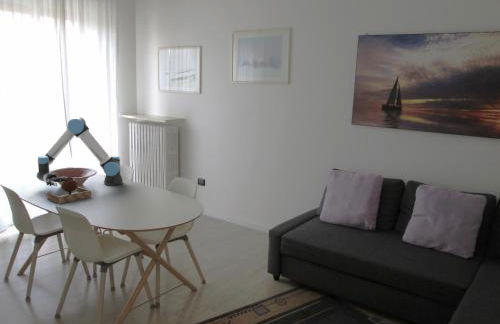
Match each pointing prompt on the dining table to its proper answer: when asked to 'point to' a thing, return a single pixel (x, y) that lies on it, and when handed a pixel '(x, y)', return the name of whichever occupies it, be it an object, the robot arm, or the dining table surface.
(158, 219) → the dining table surface
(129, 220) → the dining table surface
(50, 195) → the bay
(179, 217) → the dining table surface
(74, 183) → the ice cream bowl
